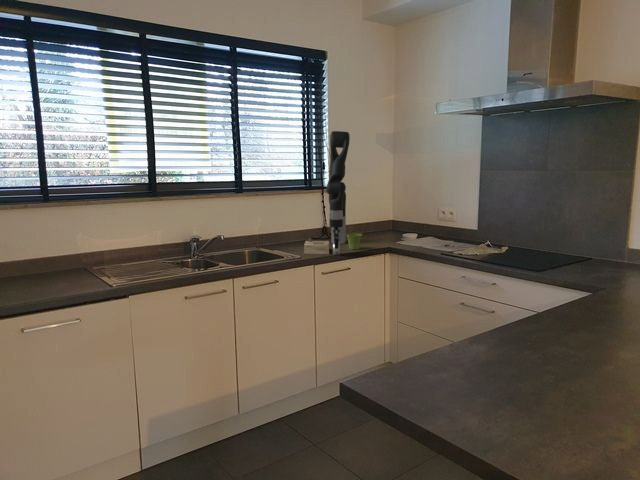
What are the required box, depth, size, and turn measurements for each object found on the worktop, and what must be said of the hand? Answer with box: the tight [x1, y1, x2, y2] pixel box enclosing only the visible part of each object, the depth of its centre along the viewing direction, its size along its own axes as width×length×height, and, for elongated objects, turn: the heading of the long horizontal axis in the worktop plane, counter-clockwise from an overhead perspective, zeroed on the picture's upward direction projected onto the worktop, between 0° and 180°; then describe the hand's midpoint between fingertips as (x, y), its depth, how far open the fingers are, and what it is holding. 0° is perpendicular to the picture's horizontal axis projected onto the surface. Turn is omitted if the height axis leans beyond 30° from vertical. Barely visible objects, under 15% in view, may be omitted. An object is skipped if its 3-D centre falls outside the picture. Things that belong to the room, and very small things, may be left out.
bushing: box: [332, 243, 341, 256], centre depth 262 cm, size 4×4×6 cm
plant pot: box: [346, 233, 363, 250], centre depth 278 cm, size 9×9×9 cm
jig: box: [303, 237, 330, 255], centre depth 271 cm, size 16×14×7 cm
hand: (336, 247), depth 261 cm, fingers open, 8 cm apart
